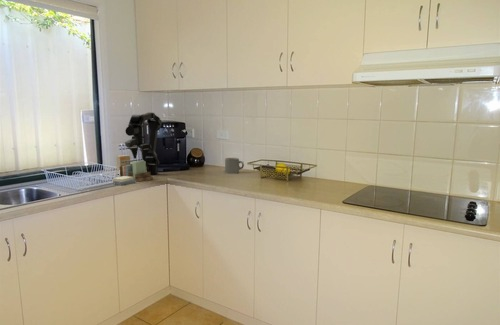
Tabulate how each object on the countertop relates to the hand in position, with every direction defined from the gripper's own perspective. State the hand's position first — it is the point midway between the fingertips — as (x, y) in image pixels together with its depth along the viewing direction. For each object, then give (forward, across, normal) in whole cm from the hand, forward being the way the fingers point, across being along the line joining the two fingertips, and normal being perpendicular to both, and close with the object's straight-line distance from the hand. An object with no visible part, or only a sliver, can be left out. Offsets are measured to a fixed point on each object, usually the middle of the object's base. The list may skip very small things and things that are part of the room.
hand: (139, 159), depth 218 cm
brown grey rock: (+13, -4, 0) cm, 13 cm away
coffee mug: (+13, +30, +58) cm, 67 cm away
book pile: (+13, +3, -13) cm, 19 cm away
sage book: (+11, 0, 0) cm, 11 cm away
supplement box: (+13, -25, +4) cm, 28 cm away
